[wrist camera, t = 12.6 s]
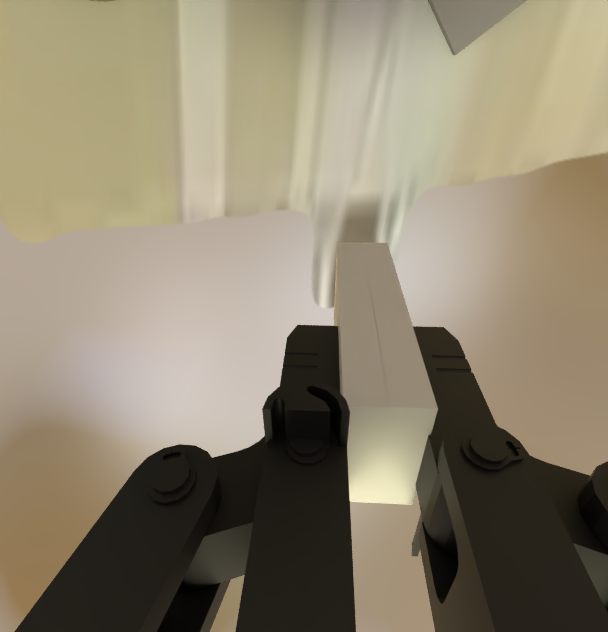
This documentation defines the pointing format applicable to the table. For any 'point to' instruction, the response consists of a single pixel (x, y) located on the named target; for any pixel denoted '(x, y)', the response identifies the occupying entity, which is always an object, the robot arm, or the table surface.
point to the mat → (469, 18)
